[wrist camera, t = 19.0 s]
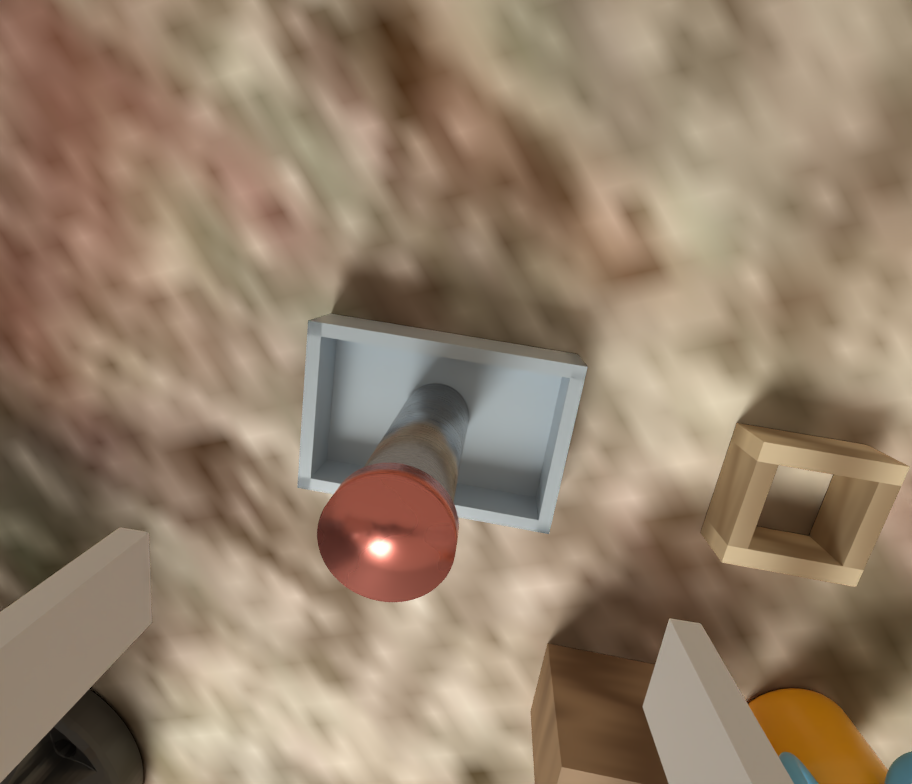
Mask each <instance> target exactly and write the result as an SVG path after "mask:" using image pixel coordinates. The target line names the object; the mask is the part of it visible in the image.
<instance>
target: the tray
mask: <svg viewBox="0 0 912 784" xmlns="http://www.w3.org/2000/svg"><path fill="white" fill-rule="evenodd" d="M587 368H588V367H587V365H586V364H585V363H584V362H583V360H582V359H581V358H580V356H579V355H578V354H574V353H568V352H561V351H555V350H549V349H543V348H537V347H531V346H525V345H519V344H513V343H507V342H501V341H495V340H489V339H483V338H477V337H470V336H464V335H458V334H452V333H446V332H440V331H434V330H428V329H422V328H416V327H410V326H404V325H398V324H392V323H386V322H379V321H373V320H367V319H361V318H355V317H349V316H343V315H337V314H327V315H324V316H321V317H318V318H315V319H311V320H308V333H307V348H306V364H305V379H304V395H303V410H302V426H301V441H300V457H299V472H298V488H303V489H308V490H314V491H319V492H324V493H330V494H334V493H335V492H336V490H337V489H338V487H339V486H340V484H341V483H342V482H343V481H344V480H345V479H346V478H347V477H348V476H350V475H351V474H352V473H354V472H355V471H357V470H359V469H361V468H363V467H364V466H365V464H366V463H367V461H368V460H369V458H370V457H371V455H372V454H373V452H374V450H375V449H376V447H377V446H378V444H379V443H380V441H381V440H382V438H383V436H384V435H385V433H386V432H387V430H388V429H389V427H390V426H391V424H392V422H393V421H394V419H395V418H396V416H397V415H398V413H399V412H400V410H401V408H402V407H403V405H404V404H405V402H406V401H407V399H408V398H409V396H410V395H411V394H412V392H413V391H415V390H416V389H417V388H419V387H421V386H423V385H426V384H430V383H441V384H445V385H448V386H450V387H452V388H454V389H455V390H457V391H458V392H459V393H460V394H461V395H462V396H463V398H464V399H465V401H466V403H467V406H468V410H469V422H468V427H467V432H466V438H465V443H464V448H463V454H462V459H461V465H460V470H459V475H458V481H457V486H456V491H455V497H454V502H453V503H454V505H455V508H456V511H457V515H458V517H460V518H465V519H471V520H476V521H482V522H487V523H492V524H498V525H503V526H509V527H514V528H519V529H525V530H530V531H536V532H541V533H547V534H549V532H550V528H551V523H552V519H553V515H554V510H555V506H556V502H557V497H558V493H559V489H560V484H561V480H562V476H563V471H564V467H565V463H566V458H567V454H568V450H569V445H570V441H571V437H572V432H573V428H574V424H575V419H576V415H577V411H578V406H579V402H580V398H581V393H582V389H583V385H584V381H585V376H586V372H587Z"/></svg>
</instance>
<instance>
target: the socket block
mask: <svg viewBox="0 0 912 784" xmlns="http://www.w3.org/2000/svg"><path fill="white" fill-rule="evenodd" d="M778 465H782V466H788V467H793V468H799V469H805V470H811V471H817V472H822V473H828V474H834V475H833V478H832V480H831V483H830V485H829V488H828V490H827V493H826V495H825V498H824V500H823V503H822V505H821V508H820V510H819V513H818V515H817V518H816V520H815V523H814V525H813V527H812V530H811V532H810V535H809V536H807V535H801V534H796V533H790V532H785V531H779V530H774V529H768V528H763V527H757V526H756V525H757V523H758V520H759V517H760V514H761V512H762V509H763V506H764V503H765V501H766V498H767V495H768V492H769V490H770V487H771V484H772V481H773V479H774V476H775V473H776V470H777V468H778ZM909 468H910V467H909V466H907V465H905V464H903V463H901V462H899V461H897V460H895V459H893V458H892V457H890V456H888V455H886V454H884V453H882V452H880V451H878V450H876V449H874V448H872V447H870V446H868V445H865V444H859V443H853V442H847V441H841V440H835V439H829V438H823V437H817V436H812V435H806V434H800V433H794V432H788V431H782V430H776V429H770V428H764V427H758V426H752V425H747V424H741V423H737V424H736V427H735V430H734V433H733V436H732V439H731V442H730V445H729V448H728V451H727V454H726V457H725V460H724V463H723V466H722V469H721V472H720V475H719V478H718V481H717V484H716V487H715V490H714V493H713V496H712V499H711V502H710V505H709V509H708V512H707V515H706V518H705V521H704V524H703V527H702V530H701V534H702V536H703V537H704V538H705V540H706V541H707V543H708V544H709V545H710V547H711V548H712V550H713V551H714V552H715V554H716V555H717V557H718V558H719V559H720V561H721V562H722V563H728V564H733V565H739V566H744V567H749V568H755V569H760V570H766V571H771V572H777V573H782V574H787V575H793V576H798V577H804V578H809V579H815V580H820V581H825V582H831V583H836V584H842V585H847V586H853V587H856V586H857V584H858V581H859V579H860V577H861V575H862V572H863V570H864V568H865V566H866V564H867V561H868V559H869V557H870V555H871V552H872V550H873V548H874V546H875V543H876V541H877V539H878V537H879V535H880V532H881V530H882V528H883V526H884V523H885V521H886V519H887V517H888V514H889V512H890V510H891V508H892V506H893V503H894V501H895V499H896V497H897V494H898V492H899V490H900V488H901V485H902V483H903V481H904V479H905V476H906V474H907V472H908V470H909Z"/></svg>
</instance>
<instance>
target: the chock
mask: <svg viewBox="0 0 912 784" xmlns="http://www.w3.org/2000/svg"><path fill="white" fill-rule="evenodd" d="M654 667H655V664H650V663H645V662H640V661H635V660H630V659H625V658H620V657H615V656H610V655H605V654H600V653H594V652H589V651H584V650H579V649H574V648H569V647H564V646H559V645H554V644H549V643H548V644H547V648H546V652H545V656H544V660H543V664H542V668H541V672H540V676H539V680H538V684H537V688H536V692H535V696H534V700H533V704H532V708H531V726H532V743H533V760H534V776H535V784H669V783H668V780H667V778H666V775H665V772H664V769H663V766H662V763H661V760H660V757H659V754H658V751H657V748H656V745H655V742H654V739H653V736H652V733H651V730H650V728H649V725H648V722H647V719H646V716H645V713H644V710H643V707H642V706H643V703H644V700H645V697H646V693H647V690H648V687H649V683H650V680H651V677H652V674H653V670H654Z"/></svg>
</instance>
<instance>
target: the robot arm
mask: <svg viewBox="0 0 912 784" xmlns="http://www.w3.org/2000/svg"><path fill="white" fill-rule="evenodd" d="M151 623H152V604H151V576H150V547H149V532H145V531H139V530H133V529H127V528H121V527H119V528H118V529H117V530H115V531H114V532H112V533H111V534H109V535H108V536H107V537H105V538H104V539H102V540H101V541H100V542H98V543H97V544H95V545H94V546H93V547H91V548H90V549H88V550H87V551H86V552H84V553H83V554H81V555H80V556H78V557H77V558H76V559H74V560H73V561H71V562H70V563H69V564H67V565H66V566H64V567H63V568H62V569H60V570H59V571H57V572H56V573H54V574H53V575H52V576H50V577H49V578H47V579H46V580H45V581H43V582H42V583H40V584H39V585H38V586H36V587H35V588H33V589H32V590H31V591H29V592H28V593H26V594H25V595H23V596H22V597H21V598H19V599H18V600H16V601H15V602H14V603H12V604H11V605H9V606H8V607H7V608H5V609H4V610H2V611H1V612H0V784H143V766H142V760H141V756H140V753H139V750H138V747H137V745H136V743H135V740H134V738H133V737H132V735H131V733H130V731H129V730H128V728H127V727H126V725H125V724H124V722H123V721H122V720H121V718H120V717H119V716H118V715H117V714H116V713H115V711H114V710H113V709H112V708H111V707H110V706H109V705H108V704H107V703H106V702H105V701H104V700H102V699H101V698H100V697H99V696H98V695H96V694H95V693H94V692H93V691H91V690H90V688H91V687H92V686H93V684H94V683H95V682H96V681H97V680H98V679H99V678H100V677H101V676H102V675H103V674H104V673H105V672H106V671H107V670H108V669H109V668H110V667H111V665H112V664H113V663H114V662H115V661H116V660H117V659H118V658H119V657H120V656H121V655H122V654H123V653H124V652H125V651H126V650H127V649H128V647H129V646H130V645H131V644H132V643H133V642H134V641H135V640H136V639H137V638H138V637H139V636H140V635H141V634H142V633H143V632H144V631H145V630H146V628H147V627H148V626H149V625H150V624H151ZM642 707H643V710H644V713H645V716H646V719H647V722H648V725H649V728H650V730H651V733H652V736H653V739H654V742H655V745H656V748H657V751H658V754H659V757H660V760H661V763H662V766H663V769H664V772H665V775H666V778H667V780H668V783H669V784H794V783H793V781H792V779H791V778H790V776H789V774H788V772H787V771H786V769H785V767H784V766H783V764H782V762H781V760H780V759H779V757H778V755H777V753H776V752H775V750H774V748H773V747H772V745H771V743H770V741H769V740H768V738H767V736H766V735H765V733H764V731H763V729H762V728H761V726H760V724H759V723H758V721H757V719H756V717H755V716H754V714H753V712H752V710H751V709H750V707H749V705H748V704H747V702H746V700H745V698H744V697H743V695H742V693H741V692H740V690H739V688H738V686H737V685H736V683H735V681H734V679H733V678H732V676H731V674H730V673H729V671H728V669H727V667H726V666H725V664H724V662H723V661H722V659H721V657H720V655H719V654H718V652H717V650H716V649H715V647H714V645H713V643H712V642H711V640H710V638H709V636H708V635H707V633H706V631H705V630H704V628H703V626H702V624H701V623H695V622H689V621H683V620H677V619H671V618H669V621H668V624H667V628H666V631H665V634H664V637H663V641H662V644H661V647H660V651H659V654H658V657H657V660H656V664H655V667H654V670H653V674H652V677H651V680H650V683H649V687H648V690H647V693H646V697H645V700H644V703H643V706H642Z"/></svg>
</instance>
